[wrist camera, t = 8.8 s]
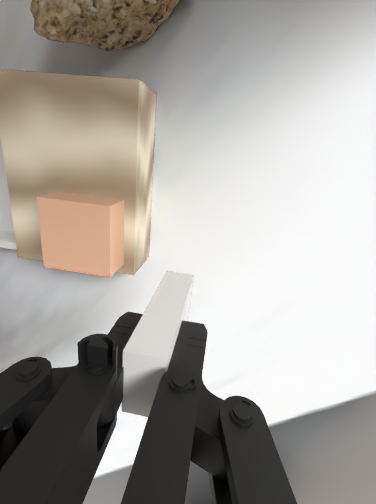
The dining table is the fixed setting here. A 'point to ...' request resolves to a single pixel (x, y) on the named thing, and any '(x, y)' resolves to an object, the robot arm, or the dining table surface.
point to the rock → (100, 20)
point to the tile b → (82, 233)
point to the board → (78, 150)
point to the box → (5, 209)
